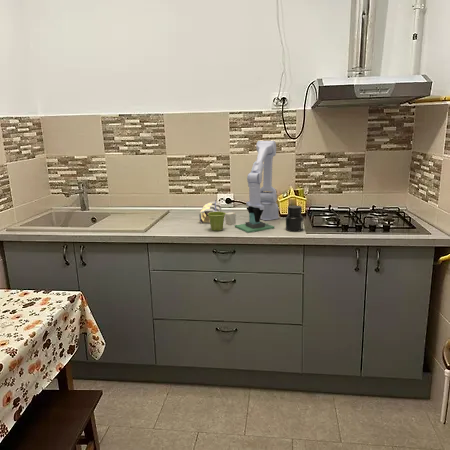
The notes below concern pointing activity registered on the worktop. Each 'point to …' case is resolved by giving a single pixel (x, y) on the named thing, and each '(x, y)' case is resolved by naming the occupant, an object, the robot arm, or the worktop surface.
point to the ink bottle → (294, 219)
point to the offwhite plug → (230, 218)
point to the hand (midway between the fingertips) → (255, 221)
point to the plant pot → (216, 220)
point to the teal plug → (252, 218)
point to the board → (254, 227)
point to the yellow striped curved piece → (209, 210)
